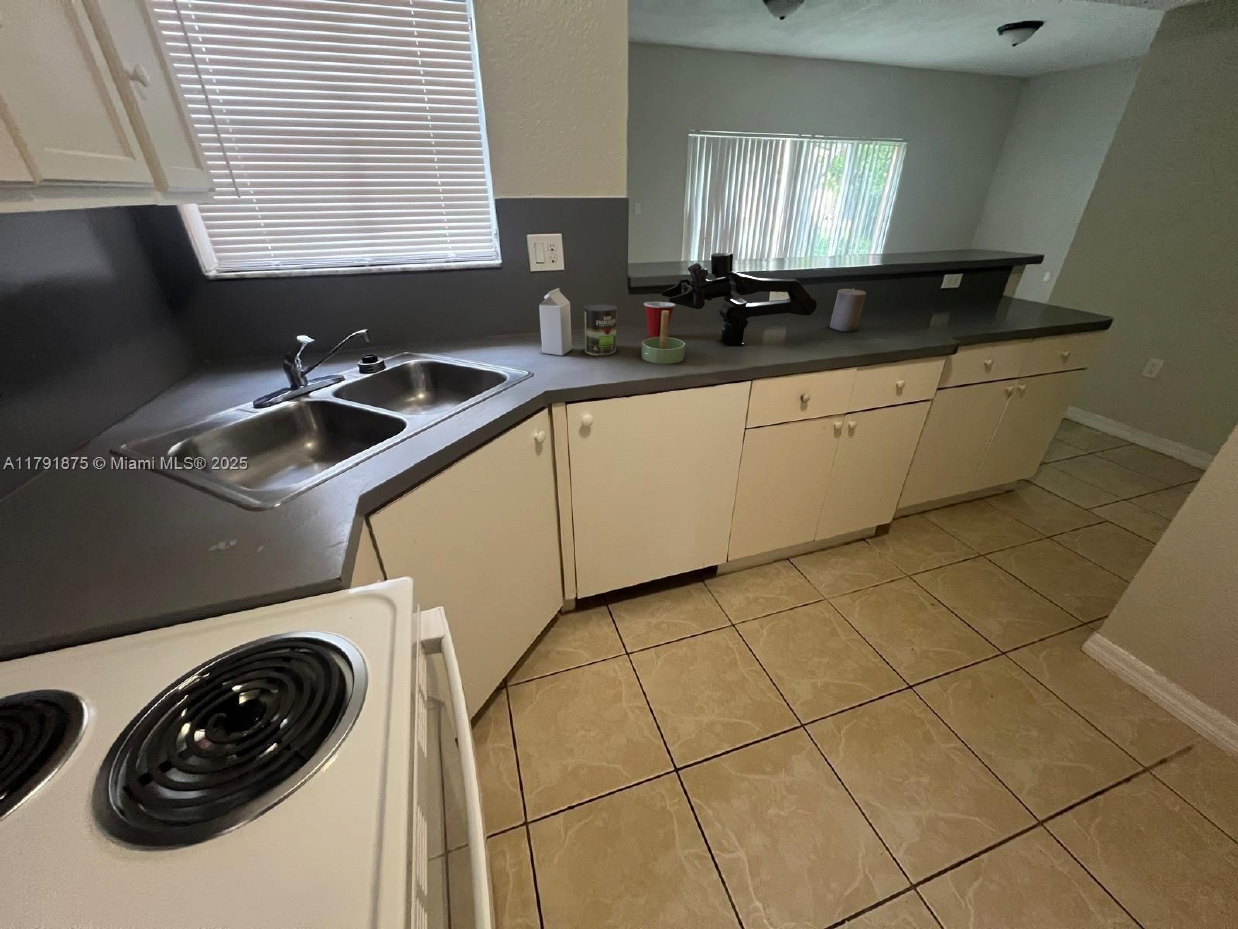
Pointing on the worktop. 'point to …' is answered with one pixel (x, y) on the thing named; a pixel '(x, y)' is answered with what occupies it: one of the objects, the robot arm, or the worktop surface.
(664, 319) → the stick
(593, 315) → the coffee can
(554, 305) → the milk carton
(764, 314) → the robot arm
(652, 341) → the bowl
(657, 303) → the plastic cup
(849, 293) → the pillar candle
